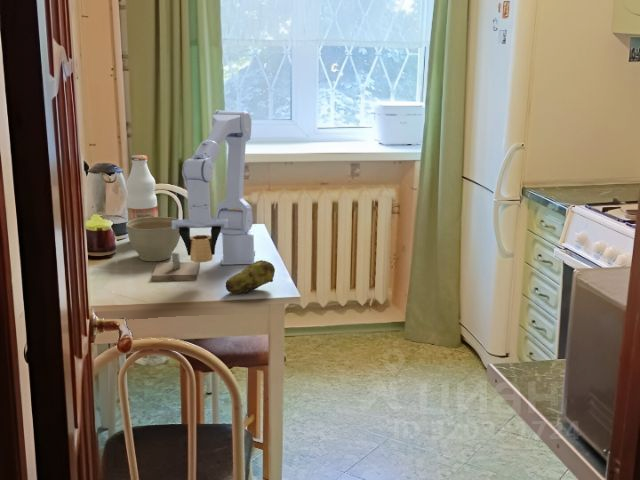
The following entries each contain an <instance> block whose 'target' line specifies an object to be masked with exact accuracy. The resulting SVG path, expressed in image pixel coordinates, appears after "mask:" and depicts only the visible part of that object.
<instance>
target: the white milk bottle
mask: <svg viewBox="0 0 640 480" xmlns="http://www.w3.org/2000/svg"><path fill="white" fill-rule="evenodd" d="M130 158H131V159H130V160H131V164H132V166H131V168H130V173H129V176H128V177H127V179H126V183H125V185H126V190H127V193H128V194H127V196H126V197H127V198H126V208H127V219H128V221H127V222H129V221H131V220H134V219H139V218H146V217H159V211H158V200H157V199H158V198H157V195H156V192H155V191H156V185H157V184H156V180H155V178H154V177H153V175H152V174H151V171H150V169H149V167H148V163H147V162H148V156H147V155H144V154H136V155H132V156H131V157H130ZM129 242H130V241H129ZM130 244H131V242H130Z"/></svg>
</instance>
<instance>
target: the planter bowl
mask: <svg viewBox="0 0 640 480" xmlns="http://www.w3.org/2000/svg"><path fill="white" fill-rule="evenodd" d="M172 220H180V219H179V218H175V217H167V216H158V217H146V218H139V219H134V220H131V221H129V222H128V221H127V222H126V224H125V226H126V231H127V236H128V239H129V242H131V243H130V245H131V247H132V248H133V250H134V251H135V252H136V254H138V257H139V259H140V260H141V261H147V262H160V261H165V260H168V259H170V258H171V259H172V253H174V250H176V249H177V245H178V244H179V241H180V238H181V236H180V234H179V228H176V229H172Z"/></svg>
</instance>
